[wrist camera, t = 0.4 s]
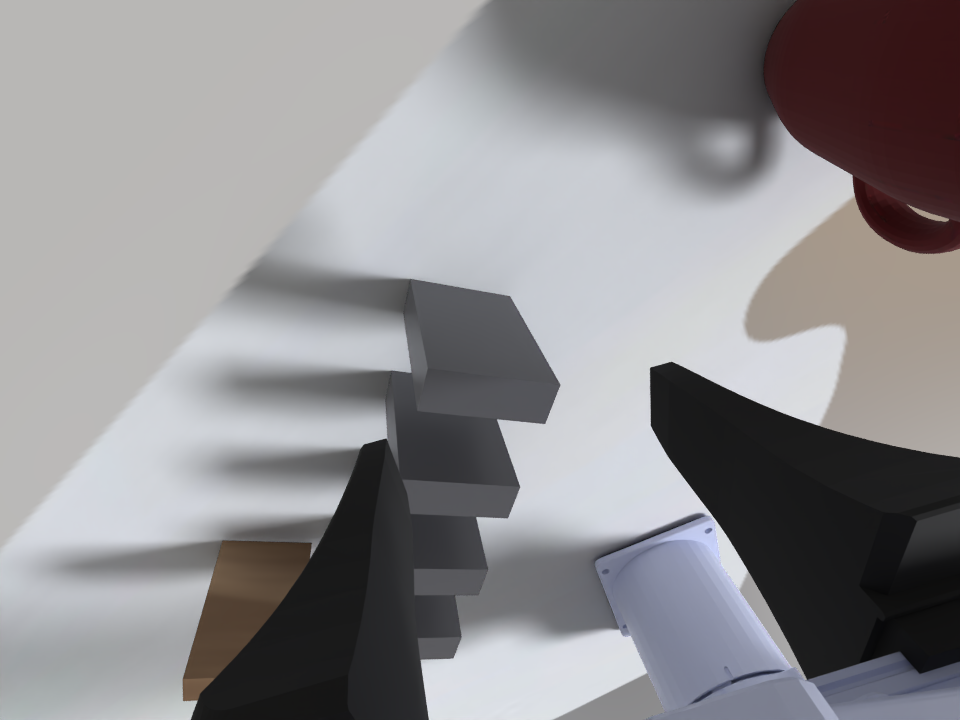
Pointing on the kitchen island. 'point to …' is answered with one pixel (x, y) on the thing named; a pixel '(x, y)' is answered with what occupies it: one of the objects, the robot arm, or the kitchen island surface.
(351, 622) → the robot arm
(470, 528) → the domino
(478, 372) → the domino
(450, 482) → the domino
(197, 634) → the domino
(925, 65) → the mug
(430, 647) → the domino
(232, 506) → the kitchen island surface
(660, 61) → the kitchen island surface
